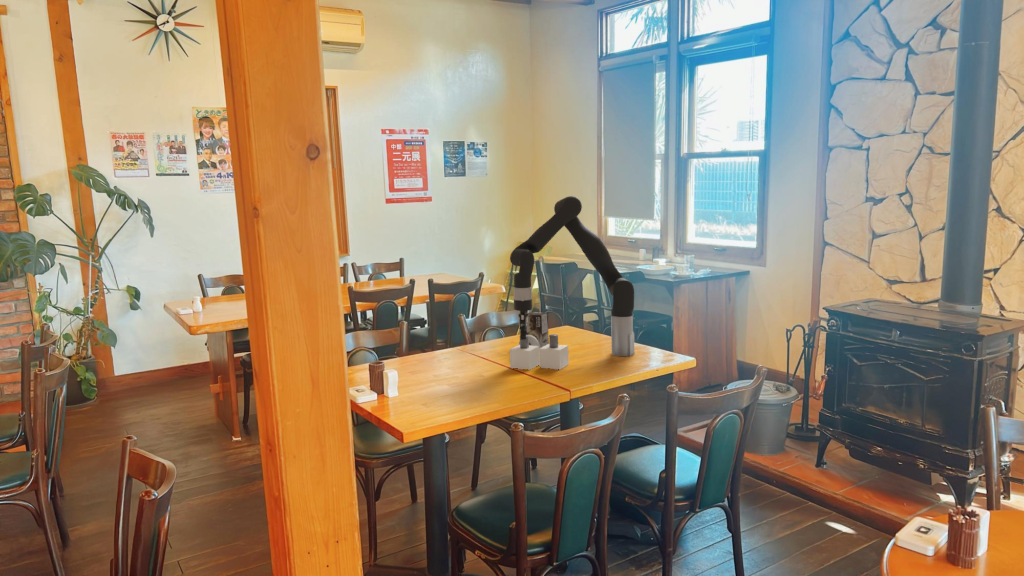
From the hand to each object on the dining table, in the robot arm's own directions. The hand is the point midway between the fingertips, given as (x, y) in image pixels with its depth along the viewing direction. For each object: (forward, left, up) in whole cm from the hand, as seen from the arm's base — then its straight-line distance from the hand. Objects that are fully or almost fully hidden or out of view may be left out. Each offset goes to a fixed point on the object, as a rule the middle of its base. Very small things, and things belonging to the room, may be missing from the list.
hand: (523, 337), depth 274 cm
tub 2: (-11, -5, -12) cm, 17 cm away
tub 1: (0, 0, -12) cm, 12 cm away
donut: (+5, -15, -13) cm, 21 cm away
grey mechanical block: (+10, -34, -13) cm, 38 cm away
